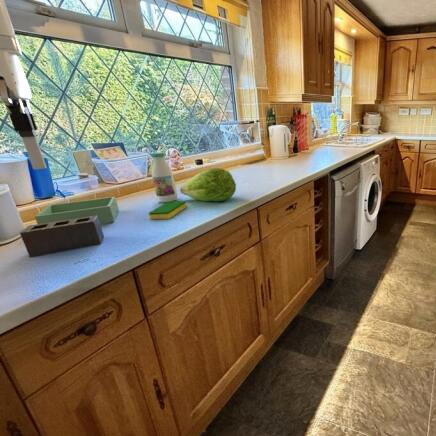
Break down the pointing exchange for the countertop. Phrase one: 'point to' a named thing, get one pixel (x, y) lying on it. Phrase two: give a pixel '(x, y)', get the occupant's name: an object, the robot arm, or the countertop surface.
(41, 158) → the knife
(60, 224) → the knife rack
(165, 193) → the milk bottle
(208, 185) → the lettuce
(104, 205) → the green tray
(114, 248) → the countertop surface
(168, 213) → the dish sponge
